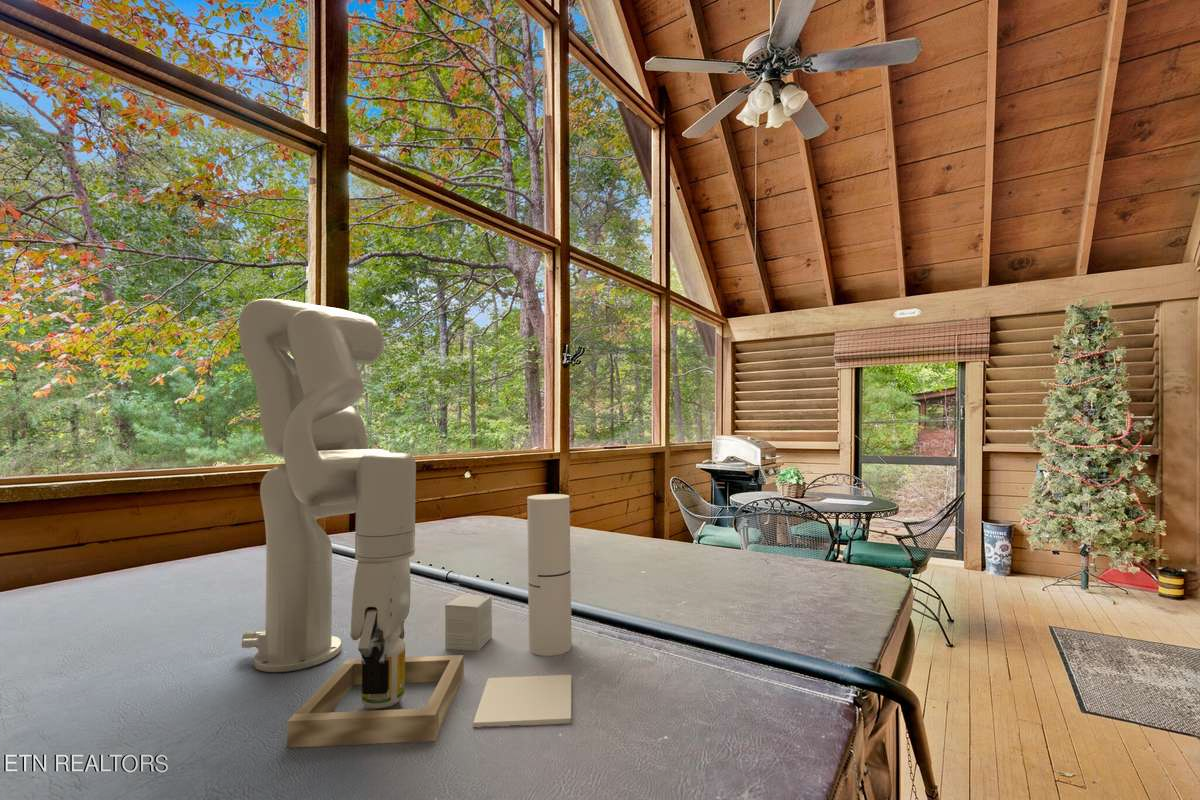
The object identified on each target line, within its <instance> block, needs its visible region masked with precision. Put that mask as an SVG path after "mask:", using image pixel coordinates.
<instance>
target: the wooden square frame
mask: <svg viewBox="0 0 1200 800" xmlns="http://www.w3.org/2000/svg"><path fill="white" fill-rule="evenodd" d="M464 657H465V655H463V654H460V655H458V654H457V655H455V654H453V655H434V656H433V655H432V656H431V655H430V656H429V655H428V656H408V657H407V656H405V682H404V684H411V683H431V682H432V683H434V682H436V683H437V682H438V683H437V685H436V686H435V689H434V691H433V692H432V694H431V696H430V698H429V700H428V702H427V704H426V706H425V708H424V707H423V708H404V709H402V708H401V709H383V710H379V709H377V710H358V711H357V710H356V711H335V712H334V711H333V710H334V709H335V708H336V706H337V705H338V704H339V703H340V702H341V701H342V700H343V698H344V697H345V696H347V693H349V691H350V690H351V689H352V688H353V687H354V686H362V663H361V659H362V658H355V659H353V658H351V659H346V660H345V661H344V662H343V663H342V664H341V665H340V666H339V667H338V668H337V670H336V671H334V672H333V674H331V676H329V678H327V680H326V681H325V682H324V683H323V684H322V685H321V686H320V687H319V688H318V689H317V690H316V691H315V692H314V693H313V694H312V695H311V696H310V697H309V698H308V699H307V700H306V701H305V702H304V703H303V704H302V706H301V707H300V708H298V709H297V711H296V712H294V713H293V715H292V716H290V718H289V719H288V720H287V721H286V723H287V724H286V730H287V731H286V748H287V749H288V748H308V747H309V748H310V747H331V746H350V745H351V746H353V745H354V746H355V745H372V744H373V745H375V744H376V745H377V743H378V744H394V743H397V744H398V743H417V742H418V743H421V742H436V741H437V738H438V737H439V736H438V735H439V734H440V733H439V732H440V730H441V728H442V726H443V724H444V722H445V720H444V719H446V717H447V714H448V712H449V710H450V708H451V707H452V706H451V705H452V704H453V701H454V699H455V697H456V694H457V692H458V690H457V689H459V688H458V687H460V685H461V683H462V681H461V680H463V678H464V676H465V675H464V674H465V672H464V671H465V667H464V665H465V662H464V661H465V659H464ZM332 711H333V712H332Z"/></svg>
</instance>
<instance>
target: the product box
mask: <svg viewBox="0 0 1200 800" xmlns="http://www.w3.org/2000/svg"><path fill="white" fill-rule="evenodd" d="M492 601H493V600H492V595H477V594H474V595H471V594H460V595H459V596H457V597H455V598H454V599H453V600H451V601H449V602H448V603H447V604H444V605H445V611H444V613H445V615H444V618H445V622H444V623H445V624H444V625H445V629H444V630H445V631H444V632H445V633H444V635H445V637H444V638H445V639H444V647H445V649H446V650H456V651H469V652H479V651H480V650H481V649H482V648H483V647H484V646H485V645H486V643H487V642H489V641H490V640H491V639H492V637H493V622H492V621H493V617H492V615H493V614H492V613H493V609H492Z"/></svg>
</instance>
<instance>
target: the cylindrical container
mask: <svg viewBox="0 0 1200 800" xmlns="http://www.w3.org/2000/svg"><path fill="white" fill-rule="evenodd" d="M526 501H527V507H526V508H527V579H528V580H527V583H528V585H527V587H528V589H527V591H528V598H527V599H528V603H527V604H528V650H529V652H530V653H532V654H534V655H537V656H542V657H550V656H559V655H563V654H566V653H567V652H569V651H570V650H571V649H572V647H573V646H572V645H573V644H572V641H573V640H572V639H573V636H572V634H573V633H572V583H571V581H572V576H571V575H572V574H571V570H572V568H571V565H572V564H571V515H570V514H571V513H570V512H571V510H570V509H571V508H570V507H571V506H570V505H571V504H570V503H571V501H570V495H568V494H563V493H560V494H559V493H546V494H545V493H544V494H542V493H541V494H534V495H529V496H527V498H526Z"/></svg>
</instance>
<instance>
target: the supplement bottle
mask: <svg viewBox="0 0 1200 800" xmlns="http://www.w3.org/2000/svg"><path fill="white" fill-rule="evenodd" d="M382 634H383V632H375V635H374V636H381V635H382ZM400 634H401V625H400V626H399V628H398V629H397V630H396V631H395V632H394V633H393V634H392V635H391V636H390V637H389V639H388V648H387V657H386V660H389V690H388V691H387V693H385V694H363V693H362V692H361V702H362V705H363V706H364V707H366V708H369V709H377V710H378V709H384V708H388V707H391V706H394V705H395V704H397V703H399V702H400V701H401V700H402V699H403V697H404V695H405V683H404V682H405V657H406V643H405V640H404V639H401V638H400V637H399V636H400ZM373 643H374V646H377V647H378V648H379V650H380V648H381V642H373Z"/></svg>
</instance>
